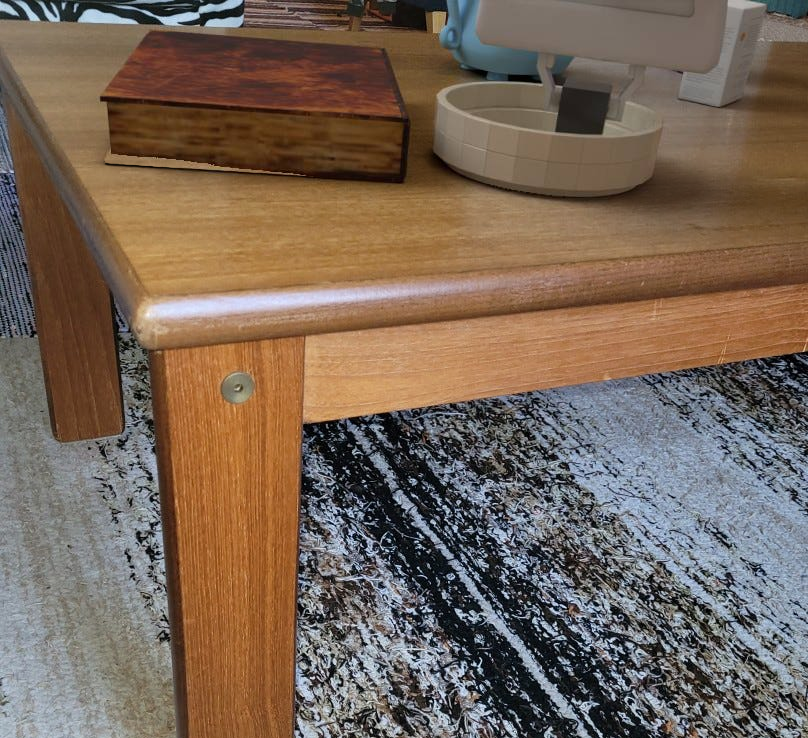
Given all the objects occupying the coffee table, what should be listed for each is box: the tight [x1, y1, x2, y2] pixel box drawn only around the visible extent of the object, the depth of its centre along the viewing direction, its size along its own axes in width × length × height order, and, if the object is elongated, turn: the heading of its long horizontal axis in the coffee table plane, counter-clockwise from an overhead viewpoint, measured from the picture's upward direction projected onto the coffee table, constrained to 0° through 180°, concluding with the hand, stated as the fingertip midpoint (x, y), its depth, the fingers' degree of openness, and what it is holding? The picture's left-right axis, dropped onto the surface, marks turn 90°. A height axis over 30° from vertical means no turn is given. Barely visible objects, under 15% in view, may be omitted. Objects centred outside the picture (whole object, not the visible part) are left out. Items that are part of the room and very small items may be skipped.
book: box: [99, 29, 412, 184], centre depth 90 cm, size 30×24×5 cm
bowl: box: [431, 80, 664, 198], centre depth 87 cm, size 20×20×5 cm
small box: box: [677, 0, 768, 108], centre depth 117 cm, size 8×6×10 cm
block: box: [555, 78, 613, 135], centre depth 85 cm, size 4×4×4 cm
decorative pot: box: [438, 0, 575, 82], centre depth 118 cm, size 16×16×14 cm
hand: (582, 115), depth 85 cm, fingers closed on block, 4 cm apart
